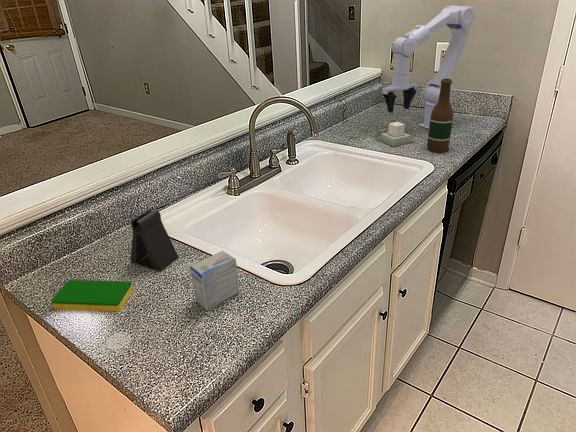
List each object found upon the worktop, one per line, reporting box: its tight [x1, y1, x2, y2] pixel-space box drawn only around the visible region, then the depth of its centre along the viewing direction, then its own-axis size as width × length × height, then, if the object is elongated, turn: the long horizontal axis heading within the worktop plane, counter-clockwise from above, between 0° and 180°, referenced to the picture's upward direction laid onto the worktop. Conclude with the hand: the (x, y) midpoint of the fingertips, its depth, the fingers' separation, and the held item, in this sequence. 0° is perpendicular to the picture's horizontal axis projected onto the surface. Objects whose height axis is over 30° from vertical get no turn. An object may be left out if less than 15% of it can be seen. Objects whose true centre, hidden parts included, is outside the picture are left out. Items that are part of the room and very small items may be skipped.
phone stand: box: [130, 207, 179, 273], centre depth 100 cm, size 9×6×12 cm, turn 63°
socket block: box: [375, 131, 416, 148], centre depth 166 cm, size 10×10×2 cm
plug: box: [387, 121, 406, 138], centre depth 165 cm, size 4×4×6 cm
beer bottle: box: [426, 78, 454, 154], centre depth 152 cm, size 8×8×24 cm
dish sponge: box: [50, 279, 134, 312], centre depth 91 cm, size 7×14×2 cm, turn 85°
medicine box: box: [189, 250, 240, 311], centre depth 88 cm, size 8×4×9 cm, turn 133°
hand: (398, 110), depth 169 cm, fingers open, 7 cm apart
